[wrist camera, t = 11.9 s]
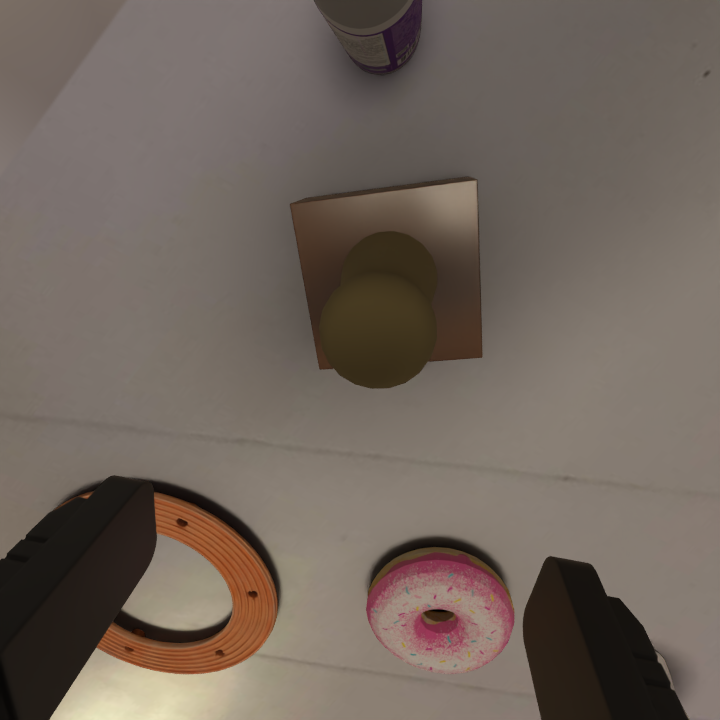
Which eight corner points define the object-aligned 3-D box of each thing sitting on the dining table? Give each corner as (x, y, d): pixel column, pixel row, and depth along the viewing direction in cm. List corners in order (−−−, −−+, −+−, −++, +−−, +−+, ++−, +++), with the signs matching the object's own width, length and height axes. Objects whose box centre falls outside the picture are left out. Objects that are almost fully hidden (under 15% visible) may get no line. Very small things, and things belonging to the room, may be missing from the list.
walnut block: (305, 197, 32) (289, 203, 28) (468, 176, 30) (477, 179, 26) (330, 345, 36) (319, 369, 32) (474, 334, 34) (482, 357, 30)
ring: (311, 531, 44) (306, 550, 42) (249, 681, 54) (242, 703, 52) (54, 439, 43) (35, 455, 41) (41, 610, 53) (25, 630, 51)
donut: (413, 512, 42) (413, 555, 37) (538, 574, 43) (553, 623, 38) (346, 599, 47) (339, 646, 43) (459, 652, 48) (464, 703, 44)
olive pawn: (362, 214, 28) (331, 247, 17) (454, 254, 28) (476, 309, 18) (327, 304, 30) (283, 377, 20) (412, 340, 30) (411, 430, 20)
